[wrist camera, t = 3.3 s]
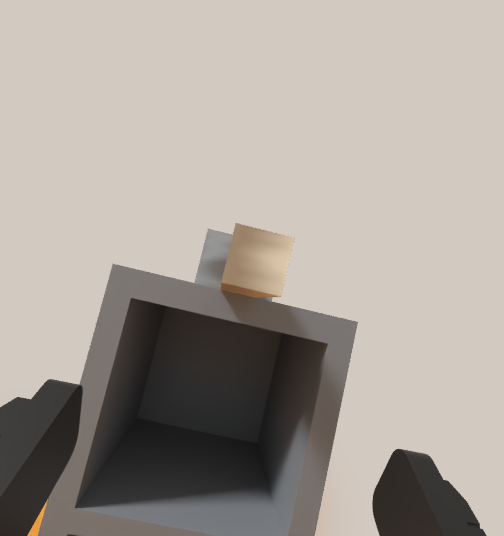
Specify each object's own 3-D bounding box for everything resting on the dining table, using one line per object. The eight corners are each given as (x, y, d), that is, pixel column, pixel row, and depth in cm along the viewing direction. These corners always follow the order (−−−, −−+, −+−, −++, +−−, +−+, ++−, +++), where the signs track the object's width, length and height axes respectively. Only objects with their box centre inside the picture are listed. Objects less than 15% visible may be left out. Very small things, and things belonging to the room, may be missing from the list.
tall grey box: (-27, 770, 23) (112, 263, 26) (87, 550, 43) (158, 279, 46) (258, 811, 24) (357, 322, 27) (240, 579, 44) (299, 312, 47)
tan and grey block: (157, 267, 15) (193, 132, 16) (197, 287, 43) (209, 238, 44) (341, 311, 16) (369, 179, 17) (263, 303, 44) (275, 254, 44)
